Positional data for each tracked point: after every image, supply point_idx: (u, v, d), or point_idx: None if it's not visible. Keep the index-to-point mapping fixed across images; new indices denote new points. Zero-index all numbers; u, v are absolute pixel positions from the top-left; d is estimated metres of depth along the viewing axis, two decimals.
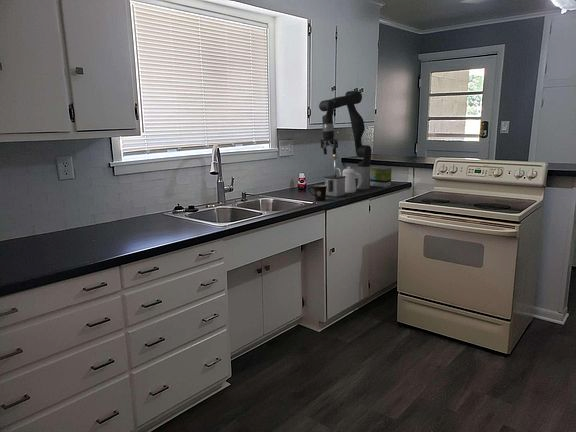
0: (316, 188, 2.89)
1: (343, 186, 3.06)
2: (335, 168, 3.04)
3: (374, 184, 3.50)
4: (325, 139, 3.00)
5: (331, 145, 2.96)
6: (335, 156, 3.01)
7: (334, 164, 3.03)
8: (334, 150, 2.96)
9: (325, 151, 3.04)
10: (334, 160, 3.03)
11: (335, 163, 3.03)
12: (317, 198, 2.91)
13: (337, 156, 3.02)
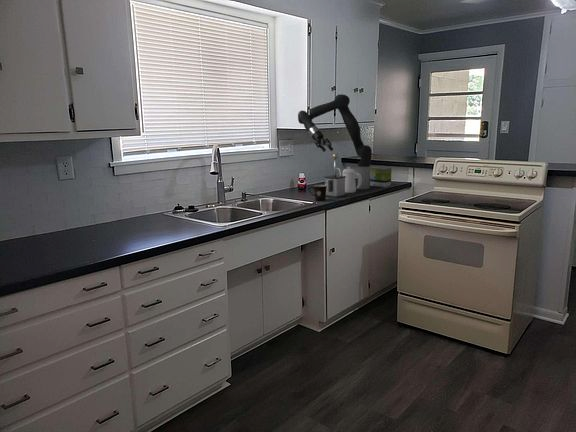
0: (316, 188, 2.89)
1: (343, 186, 3.06)
2: (335, 168, 3.04)
3: (374, 184, 3.50)
4: None
5: None
6: (335, 156, 3.01)
7: (334, 164, 3.03)
8: None
9: (330, 148, 3.09)
10: (334, 160, 3.03)
11: (335, 163, 3.03)
12: (317, 198, 2.91)
13: (337, 156, 3.02)
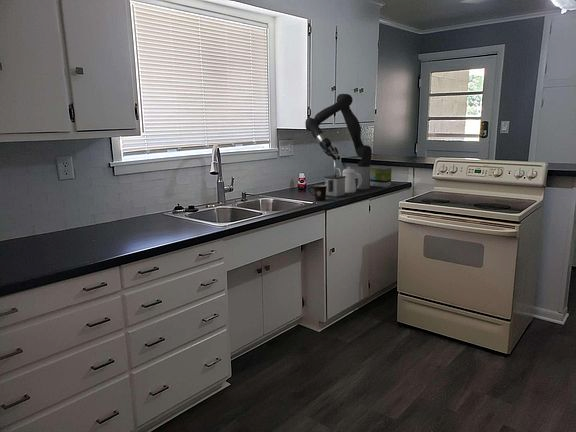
0: (316, 188, 2.89)
1: (343, 186, 3.06)
2: (335, 168, 3.04)
3: (374, 184, 3.50)
4: None
5: (328, 154, 3.03)
6: (335, 156, 3.01)
7: (334, 164, 3.03)
8: (332, 157, 3.01)
9: None
10: None
11: (335, 163, 3.03)
12: (317, 198, 2.91)
13: (337, 156, 3.02)
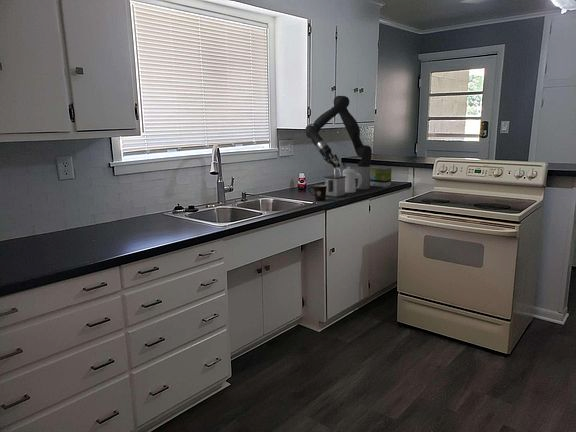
0: (316, 188, 2.89)
1: (343, 186, 3.06)
2: (335, 175, 3.05)
3: (374, 184, 3.50)
4: None
5: None
6: (335, 163, 3.02)
7: (334, 171, 3.04)
8: (332, 164, 3.02)
9: None
10: None
11: (335, 170, 3.04)
12: (317, 198, 2.91)
13: (337, 163, 3.03)
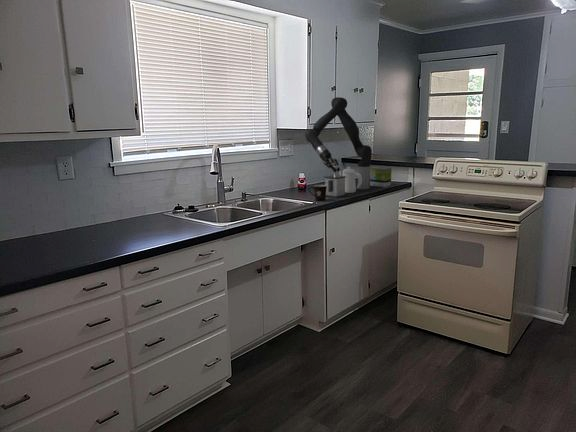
0: (316, 188, 2.89)
1: (343, 186, 3.06)
2: None
3: (374, 184, 3.50)
4: None
5: None
6: None
7: (334, 176, 3.05)
8: (332, 169, 3.03)
9: None
10: (334, 172, 3.04)
11: (335, 175, 3.05)
12: (317, 198, 2.91)
13: (337, 168, 3.03)
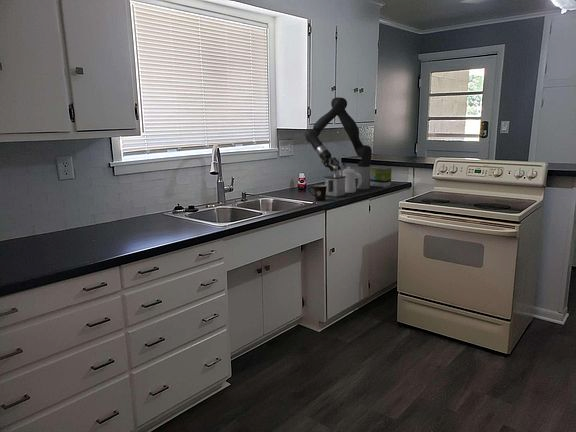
0: (316, 188, 2.89)
1: (343, 186, 3.06)
2: None
3: (374, 184, 3.50)
4: None
5: None
6: (335, 168, 3.03)
7: (334, 176, 3.05)
8: (329, 168, 3.01)
9: (338, 167, 3.08)
10: (334, 172, 3.04)
11: (335, 175, 3.05)
12: (317, 198, 2.91)
13: (337, 168, 3.03)
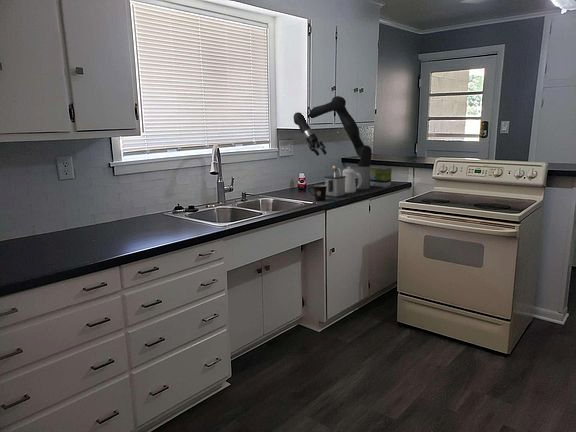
0: (316, 188, 2.89)
1: (343, 186, 3.06)
2: None
3: (374, 184, 3.50)
4: None
5: None
6: (335, 168, 3.03)
7: (334, 176, 3.05)
8: (315, 152, 3.09)
9: (323, 151, 3.15)
10: (334, 172, 3.04)
11: (335, 175, 3.05)
12: (317, 198, 2.91)
13: (337, 168, 3.03)
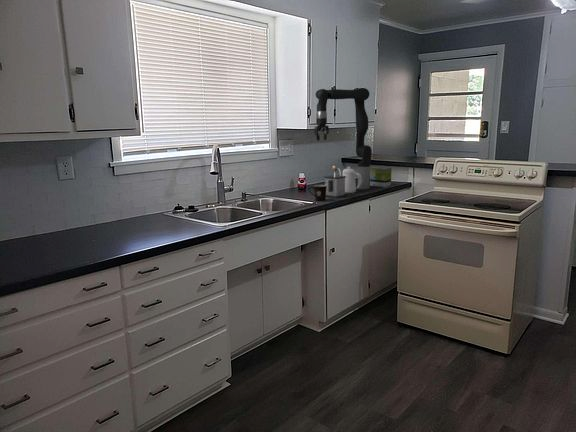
0: (316, 188, 2.89)
1: (343, 186, 3.06)
2: None
3: (374, 184, 3.50)
4: None
5: None
6: (335, 168, 3.03)
7: (334, 176, 3.05)
8: (316, 136, 3.18)
9: (324, 137, 3.24)
10: (334, 172, 3.04)
11: (335, 175, 3.05)
12: (317, 198, 2.91)
13: (337, 168, 3.03)
